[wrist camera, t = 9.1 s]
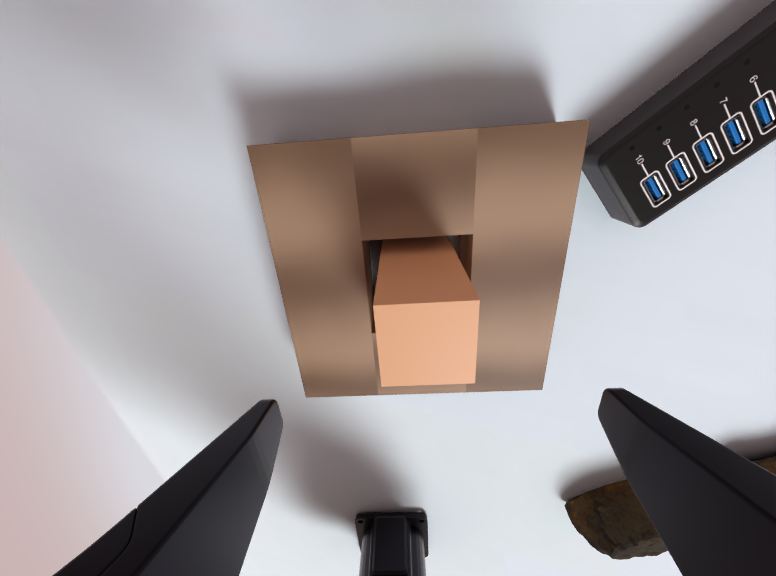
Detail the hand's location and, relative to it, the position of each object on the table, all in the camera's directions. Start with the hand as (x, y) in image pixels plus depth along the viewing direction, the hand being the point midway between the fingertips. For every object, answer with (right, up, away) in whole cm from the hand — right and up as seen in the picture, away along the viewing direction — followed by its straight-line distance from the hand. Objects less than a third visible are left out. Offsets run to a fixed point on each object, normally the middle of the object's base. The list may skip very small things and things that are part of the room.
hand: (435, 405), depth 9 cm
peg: (0, +5, +10) cm, 11 cm away
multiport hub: (+15, +13, +6) cm, 21 cm away
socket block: (0, +5, +10) cm, 11 cm away
